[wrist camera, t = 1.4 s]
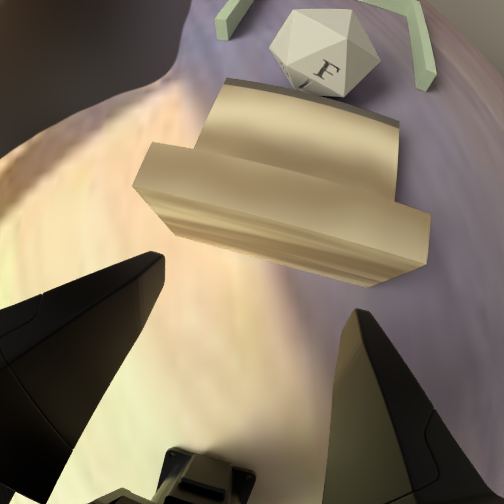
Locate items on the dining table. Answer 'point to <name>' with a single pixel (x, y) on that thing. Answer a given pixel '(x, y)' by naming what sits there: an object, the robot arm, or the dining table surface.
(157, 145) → the block
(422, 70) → the fence
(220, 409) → the dining table surface
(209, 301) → the dining table surface
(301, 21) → the die
